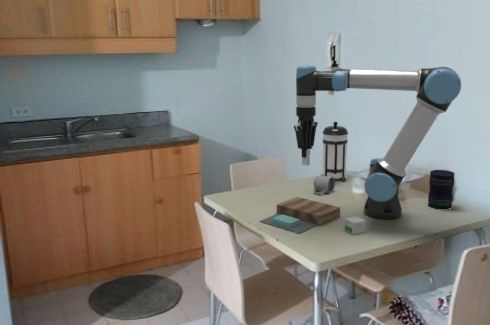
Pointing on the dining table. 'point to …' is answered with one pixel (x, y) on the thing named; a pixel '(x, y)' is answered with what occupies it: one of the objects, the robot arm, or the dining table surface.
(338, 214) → the board
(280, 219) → the card
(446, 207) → the storage jar
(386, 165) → the robot arm
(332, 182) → the ceramic mug
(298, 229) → the mat
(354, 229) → the small box
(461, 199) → the dining table surface
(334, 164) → the coffee press
